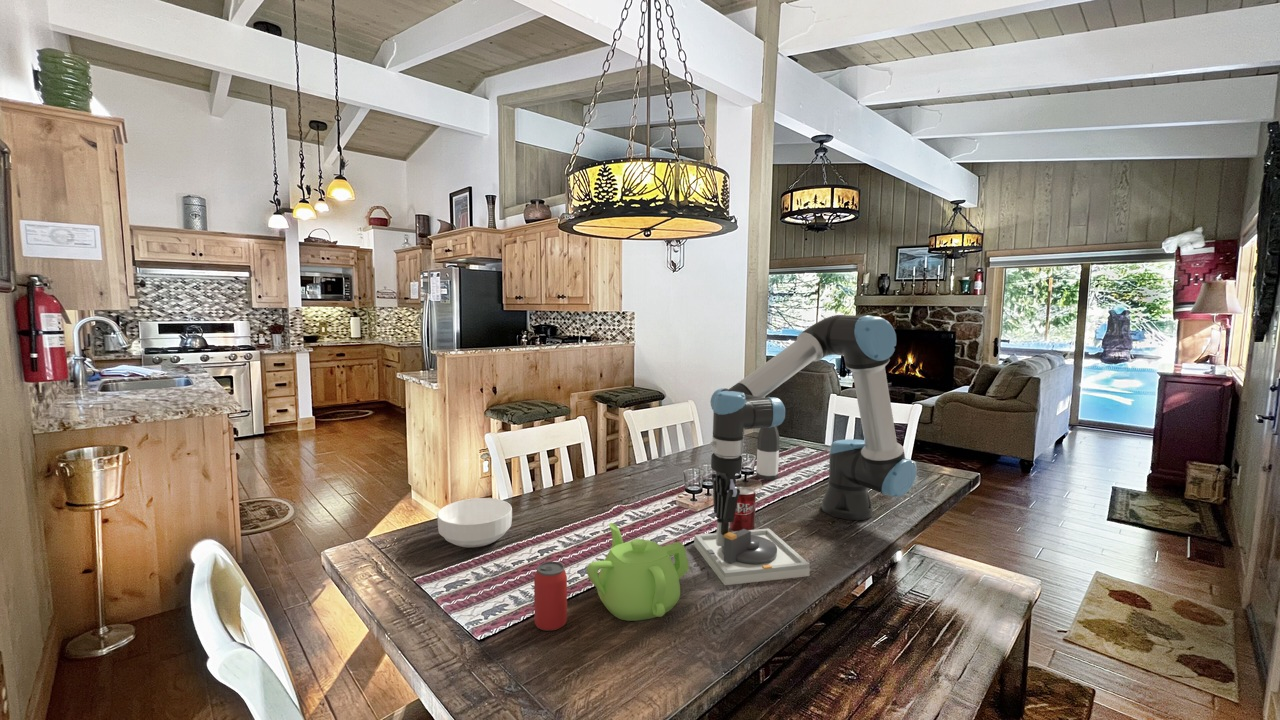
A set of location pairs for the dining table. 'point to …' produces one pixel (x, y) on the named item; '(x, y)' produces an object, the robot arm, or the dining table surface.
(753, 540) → the dial
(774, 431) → the wine bottle
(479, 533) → the bowl
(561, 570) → the beer can
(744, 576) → the panel
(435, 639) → the dining table surface
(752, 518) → the soda can
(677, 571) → the teapot
